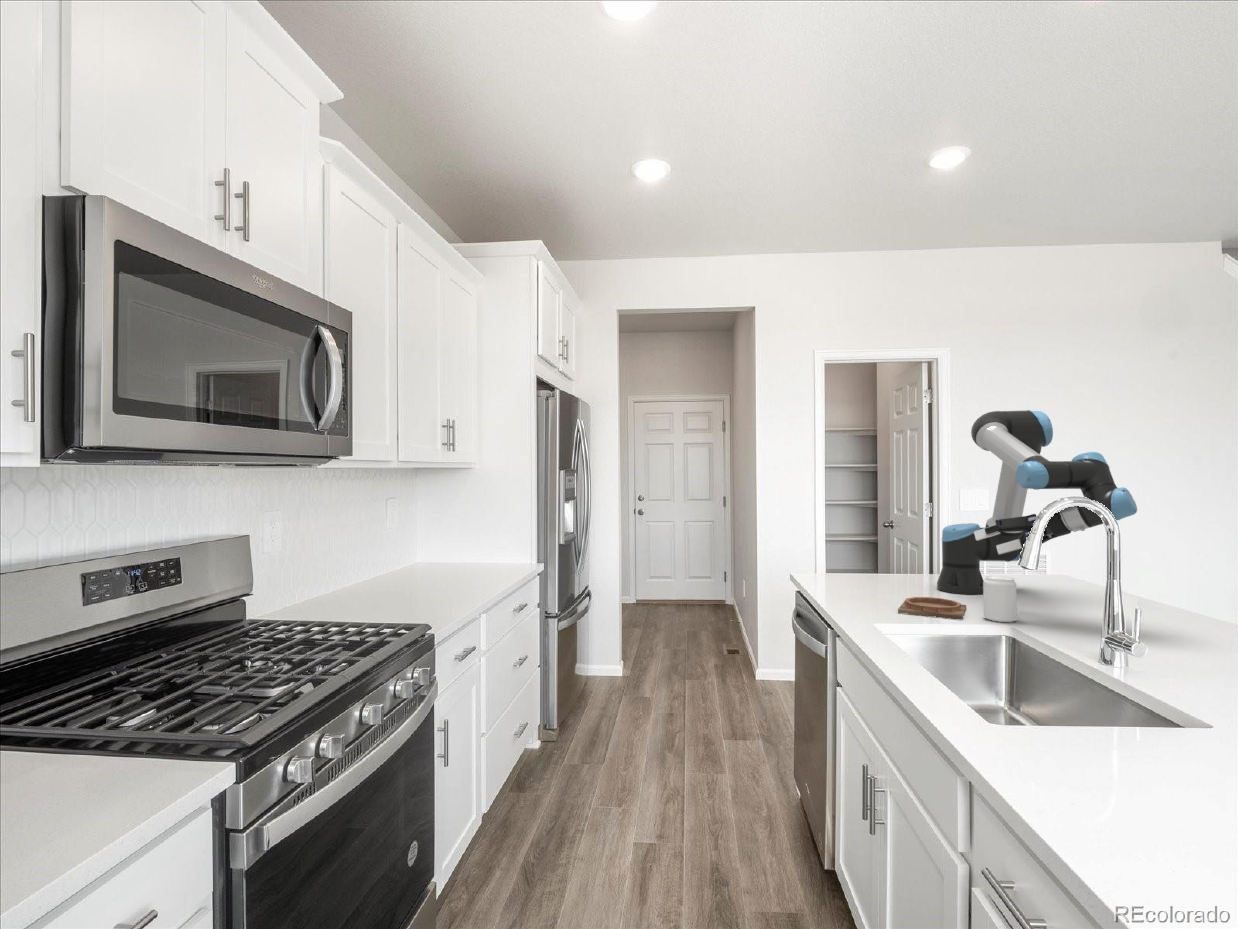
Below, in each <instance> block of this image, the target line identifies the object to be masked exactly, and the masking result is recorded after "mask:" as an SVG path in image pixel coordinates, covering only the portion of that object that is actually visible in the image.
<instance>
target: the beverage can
mask: <svg viewBox="0 0 1238 929" xmlns="http://www.w3.org/2000/svg"><path fill="white" fill-rule="evenodd" d="M984 577H985V578H984V579H983V580H984V581H983V601H982V602H983V604H982V605H983V617H984V618H985V619H987V620H988V619H989V620H988V621H990V620H992V621H991V622H994V621H998V622H997V623H1002V622H1010V623H1013V622H1015V621H1017V619H1018V617H1017V616H1018V615H1017V611H1018V610H1017V608H1018V607H1017V606H1018V604H1017V600H1018V599H1017V598H1018V596H1017V582H1016V581H1015V578H1014V577H1010V576H1003V575H1002V576H1001V575H986V576H984ZM1012 621H1013V622H1012Z"/></svg>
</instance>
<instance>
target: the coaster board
mask: <svg viewBox="0 0 1238 929" xmlns="http://www.w3.org/2000/svg"><path fill="white" fill-rule="evenodd" d="M966 612H967V604H963V603H960V602H958V601H956V600H952V599H947V598H941V597H931V596H930V597H929V596H914V597H908V598H905V599H904V601H903V602H902V604H901V605H900V606H899V607H898V608H897V614H900V613H908V614H907V615H910V614H914V615H913V616H919V615H921V616H920V617H928V616H936V617H935V618H938V617H945V618H944V619H947V618H951V619H950V620H956V619H963V620H964V617H965V614H966ZM964 613H965V614H964ZM963 616H964V617H963Z"/></svg>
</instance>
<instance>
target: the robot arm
mask: <svg viewBox="0 0 1238 929" xmlns="http://www.w3.org/2000/svg"><path fill="white" fill-rule="evenodd" d="M970 434H971V438H972V441H973V442H974V443H975V445H976V446H977V447H978V448H980V449H982V450H984V451H986V452H990V453H992V455H994V456H996V457H997V458H998V459H999V460H1001V461H1002V462H1001V468H1000V474H999V479H998V484H997V488H996V490H997V491H996V494H995V500H994V506H993V513H992V517H990V518H988V519H987V520H986V522H985V527H981V526H980V525H979V524H978V523H974V522H972V523H971V522H970V523H969V522H968V523H957V524H950V525H947V526H944V527H943V528H942V532H941V536H942V537H941V551H942V552H941V553H942V554H941V555H942V556H941V560H942V564H941V566H942V568H941V571H940V574H939V576H938V579H937V583H936V590H938V589H940V590H939V591H941V590H942V591H941V592H945V593H950V592H952V593H951V594H959V595H960V594H961V595H981V594H983V581H984V580H985V579H984V578H983V575H982V572H981V570H980V567H981V566H980V564H981V562H1017V561H1018V560H1019V557H1020V552H1021V551H1022V548H1023V544H1024V542H1025V541H1026V537H1028V536H1029V534H1030V531H1031V528H1032V527H1033V523H1034V521H1035V520H1036V518H1038V516H1037V514H1036V513H1031V514H1029V515H1025V516H1024V515H1023V514H1024V509H1025V505H1026V504H1025V503H1026V500H1027V495H1028V489H1029V490H1060V489H1062V490H1080V491H1081V493H1082V496H1083V497H1084V498H1085V497H1087V498H1089V499H1091V500H1095V501H1098V502H1099V503H1102V504H1103V505H1105V507H1107V508H1108V509H1109V510H1110V511H1111V512H1112V514H1113V515H1114V517H1115V519H1116V521H1121V520H1122V519H1125V518H1128V517H1131V516H1133V515H1135V514H1136V513H1137V512H1138V507H1137V503H1136V501H1135V499H1134V497H1133V495H1132V494H1131V492H1130V490H1129V489H1127V488H1126V487H1117V485H1116V483H1115V480H1114V478H1113V475H1112V472H1111V470H1110V466H1109V464H1108V462H1107V461H1106V459H1105V457H1104V456H1103V454H1101V453H1100V452H1097V451H1087V452H1085V453H1084V452H1081V453H1079V454H1077V455H1075V456H1074V457H1073V458H1072V459H1071V460H1065V461H1064V460H1062V461H1061V460H1057V461H1056V460H1055V461H1052V460H1051V461H1050V460H1049V459H1047V458H1045V457H1044V456H1042V454H1041V452H1042V447H1043V448H1044V447H1047V446H1049V445H1050V444H1051V443H1052V441H1053V436H1054V428H1053V424H1052V421H1051V419H1050V417H1049V416H1048V414H1047V413H1045V412H1043V411H1042V410H1040V411H1039V410H1029V409H1027V410H1003V411H1002V410H994V411H990V412H989V411H988V412H986V413H984V414H982V415H981V416H979V417H978V418H977V419H976V420H975V421H974V422H973V425H972V427H971V430H970ZM1100 525H1104V524H1103V522H1102V520H1101V518H1100V517H1099V516H1098V515H1097V514H1096V513H1094V512H1092V511H1091V510H1088V509H1087V508H1085V507H1079V506H1074V507H1068V508H1065V509H1064V510H1061V511H1060V512H1058V513H1055V514H1054V516H1053V517H1051V519H1050V520H1049V522H1048V524H1047V527H1046V528H1045V531H1044V536H1043V540H1042V544H1044V543H1046V542H1049V541H1050V540H1054V539H1056V538H1059V537H1063V536H1066V535H1070V534H1071V533H1072V532H1074V533H1076V532H1079V531H1081V532H1084V531H1085V530H1086V529H1089V528H1094V527H1097V526H1100ZM1042 544H1041V545H1042ZM1019 561H1020V560H1019Z"/></svg>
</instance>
